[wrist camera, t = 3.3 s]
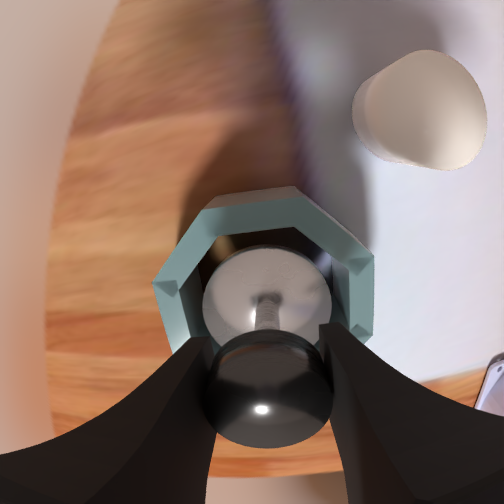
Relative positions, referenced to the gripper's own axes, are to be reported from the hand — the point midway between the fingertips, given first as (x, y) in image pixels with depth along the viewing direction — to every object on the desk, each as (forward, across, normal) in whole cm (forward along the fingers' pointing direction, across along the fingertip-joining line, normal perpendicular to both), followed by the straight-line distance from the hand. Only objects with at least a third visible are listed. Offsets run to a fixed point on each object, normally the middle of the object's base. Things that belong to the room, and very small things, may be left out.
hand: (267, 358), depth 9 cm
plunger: (+4, 0, 0) cm, 4 cm away
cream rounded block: (+6, -7, -7) cm, 12 cm away
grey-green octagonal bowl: (+6, 0, 0) cm, 6 cm away
